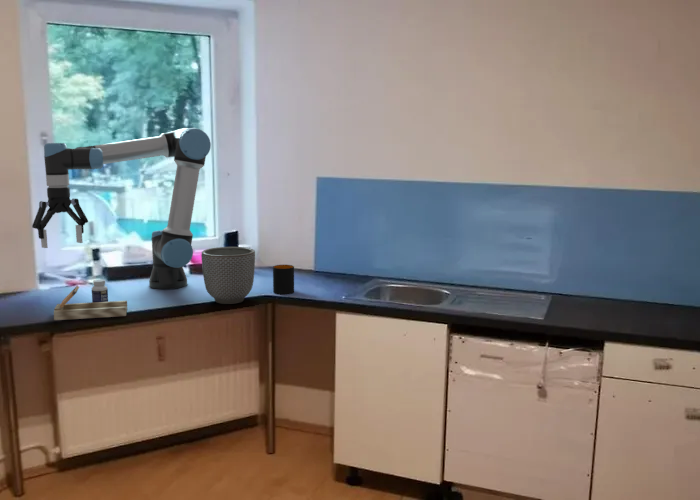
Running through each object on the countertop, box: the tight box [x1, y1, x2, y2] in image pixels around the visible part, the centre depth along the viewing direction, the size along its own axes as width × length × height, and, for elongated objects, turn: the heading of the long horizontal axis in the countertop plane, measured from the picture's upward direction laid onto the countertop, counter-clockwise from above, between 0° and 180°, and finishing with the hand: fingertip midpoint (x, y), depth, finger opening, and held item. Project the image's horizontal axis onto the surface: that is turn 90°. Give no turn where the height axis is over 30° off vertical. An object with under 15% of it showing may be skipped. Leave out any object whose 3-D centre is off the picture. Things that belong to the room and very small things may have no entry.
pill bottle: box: [91, 279, 109, 302], centre depth 248 cm, size 5×5×10 cm
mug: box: [272, 264, 295, 296], centre depth 274 cm, size 8×12×10 cm
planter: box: [200, 246, 256, 305], centre depth 257 cm, size 20×20×19 cm
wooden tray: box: [53, 300, 128, 321], centre depth 239 cm, size 23×10×4 cm, turn 105°
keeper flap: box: [59, 285, 80, 308], centre depth 236 cm, size 7×9×1 cm
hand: (62, 245), depth 250 cm, fingers open, 13 cm apart
